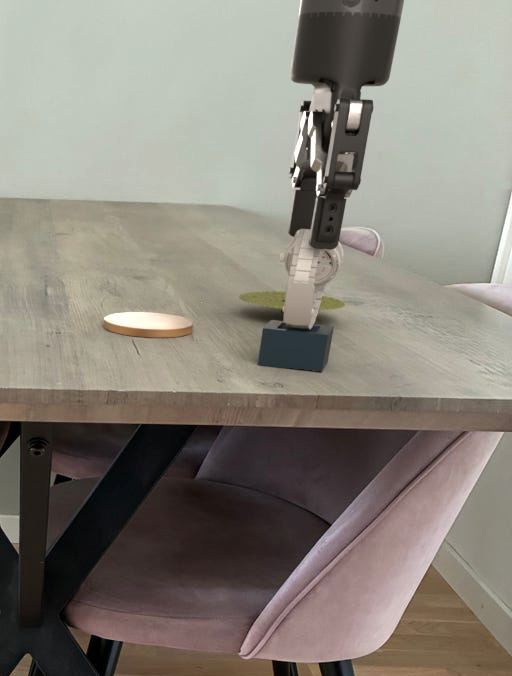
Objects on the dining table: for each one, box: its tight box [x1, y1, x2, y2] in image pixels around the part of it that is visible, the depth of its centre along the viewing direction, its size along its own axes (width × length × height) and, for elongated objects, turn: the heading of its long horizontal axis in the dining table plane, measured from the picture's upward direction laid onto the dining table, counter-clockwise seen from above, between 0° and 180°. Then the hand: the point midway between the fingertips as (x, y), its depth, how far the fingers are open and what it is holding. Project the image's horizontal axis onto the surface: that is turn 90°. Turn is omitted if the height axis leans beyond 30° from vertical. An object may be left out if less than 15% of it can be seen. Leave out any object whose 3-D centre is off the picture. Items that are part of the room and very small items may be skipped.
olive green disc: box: [238, 290, 346, 315], centre depth 103 cm, size 11×11×2 cm
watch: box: [257, 229, 345, 373], centre depth 82 cm, size 6×8×11 cm
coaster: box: [102, 311, 194, 339], centre depth 96 cm, size 9×9×1 cm
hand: (310, 242), depth 80 cm, fingers open, 8 cm apart
